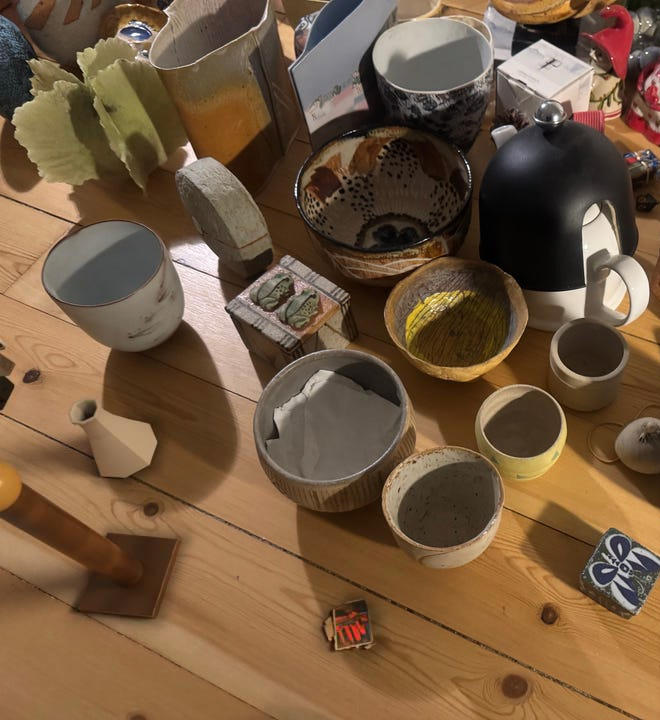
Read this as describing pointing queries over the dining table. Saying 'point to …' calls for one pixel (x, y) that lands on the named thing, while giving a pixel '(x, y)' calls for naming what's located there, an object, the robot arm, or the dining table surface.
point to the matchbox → (350, 625)
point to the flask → (114, 439)
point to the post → (94, 551)
